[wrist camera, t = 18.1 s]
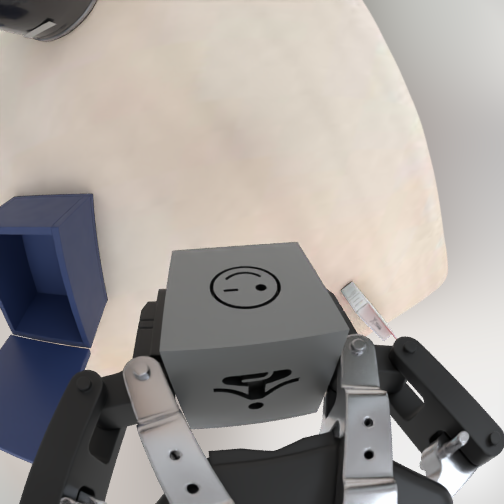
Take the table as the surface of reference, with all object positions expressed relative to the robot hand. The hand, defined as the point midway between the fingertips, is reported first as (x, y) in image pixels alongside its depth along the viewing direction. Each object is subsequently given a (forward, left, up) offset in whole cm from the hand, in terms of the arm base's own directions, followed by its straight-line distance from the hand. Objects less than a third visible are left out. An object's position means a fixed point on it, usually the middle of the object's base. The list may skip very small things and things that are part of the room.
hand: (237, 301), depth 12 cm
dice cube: (0, 0, -1) cm, 1 cm away
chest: (+6, -21, -19) cm, 29 cm away
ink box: (+20, +21, -19) cm, 35 cm away
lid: (+12, -22, -2) cm, 25 cm away
